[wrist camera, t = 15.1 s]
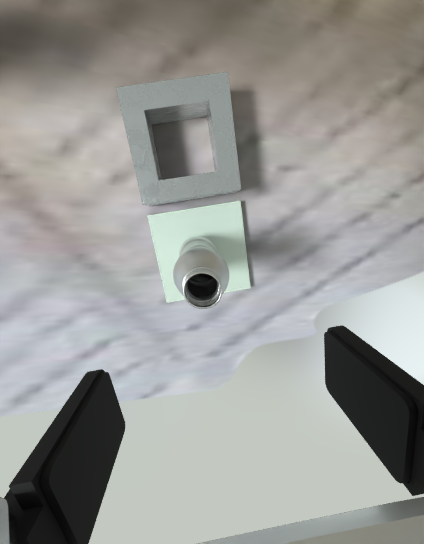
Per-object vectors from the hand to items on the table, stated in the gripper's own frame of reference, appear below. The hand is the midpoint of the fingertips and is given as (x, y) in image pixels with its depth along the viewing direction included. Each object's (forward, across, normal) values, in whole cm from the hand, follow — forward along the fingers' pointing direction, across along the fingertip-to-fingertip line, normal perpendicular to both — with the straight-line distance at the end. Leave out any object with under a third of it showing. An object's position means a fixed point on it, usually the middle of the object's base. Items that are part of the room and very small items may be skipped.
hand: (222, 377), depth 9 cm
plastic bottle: (+31, 0, 0) cm, 31 cm away
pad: (+32, 0, 0) cm, 32 cm away
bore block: (+32, 0, -17) cm, 36 cm away
